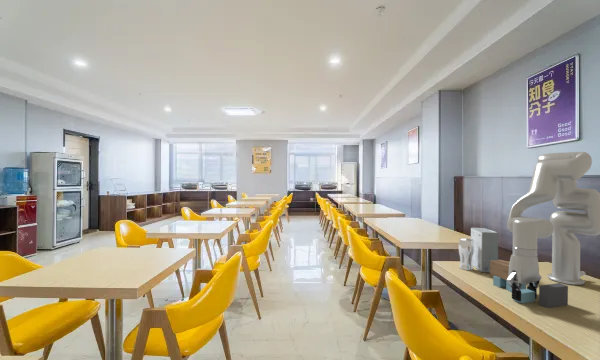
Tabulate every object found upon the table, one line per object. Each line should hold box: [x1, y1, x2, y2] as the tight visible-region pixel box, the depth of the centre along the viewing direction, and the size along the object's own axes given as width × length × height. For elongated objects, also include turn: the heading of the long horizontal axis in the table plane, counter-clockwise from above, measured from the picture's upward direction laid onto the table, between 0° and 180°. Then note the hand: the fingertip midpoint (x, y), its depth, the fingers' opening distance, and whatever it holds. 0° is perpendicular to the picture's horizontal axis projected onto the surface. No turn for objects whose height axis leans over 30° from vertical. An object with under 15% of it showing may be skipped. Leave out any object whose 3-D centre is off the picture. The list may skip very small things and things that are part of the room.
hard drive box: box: [470, 227, 499, 273], centre depth 152 cm, size 16×8×20 cm, turn 168°
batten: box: [512, 288, 536, 304], centre depth 112 cm, size 7×3×4 cm, turn 106°
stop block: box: [538, 282, 569, 309], centre depth 108 cm, size 10×3×7 cm, turn 106°
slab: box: [489, 259, 518, 284], centre depth 125 cm, size 6×12×6 cm, turn 16°
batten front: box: [505, 280, 527, 293], centre depth 122 cm, size 7×3×4 cm, turn 106°
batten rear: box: [492, 275, 506, 288], centre depth 128 cm, size 7×3×4 cm, turn 106°
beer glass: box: [458, 237, 474, 271], centre depth 151 cm, size 7×7×15 cm
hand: (524, 298), depth 112 cm, fingers closed on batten, 7 cm apart
